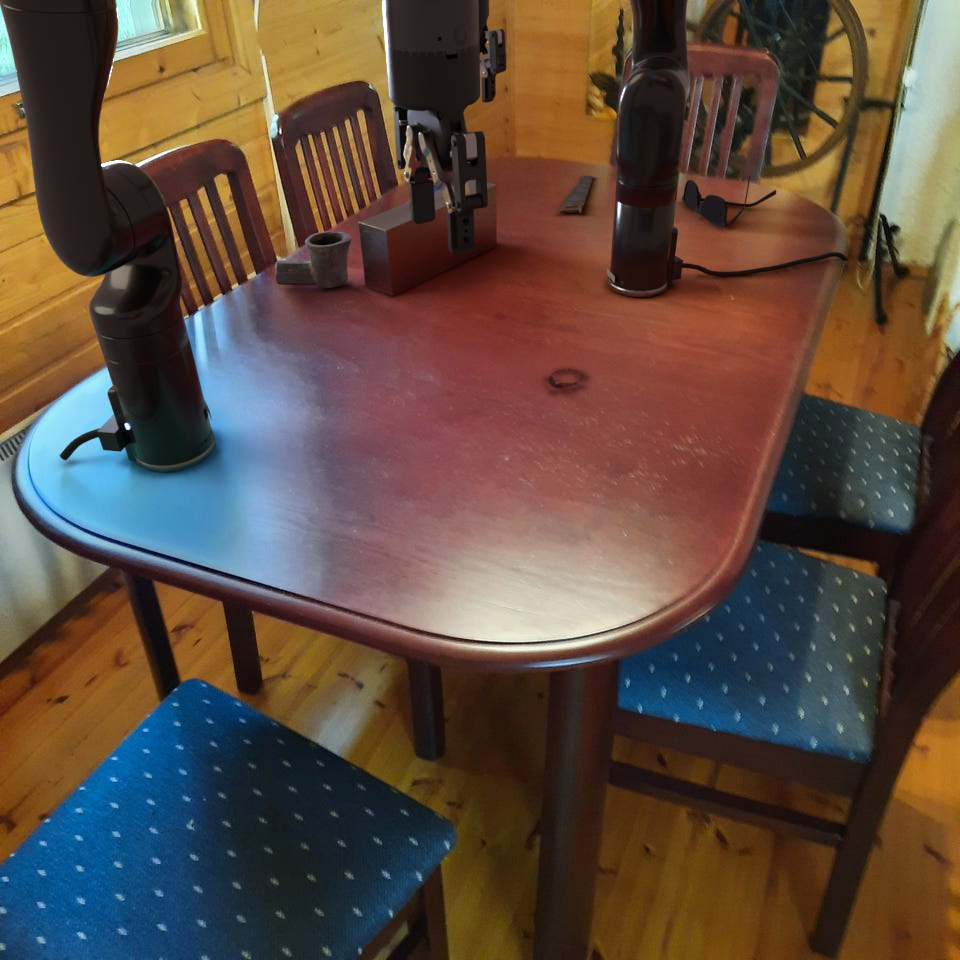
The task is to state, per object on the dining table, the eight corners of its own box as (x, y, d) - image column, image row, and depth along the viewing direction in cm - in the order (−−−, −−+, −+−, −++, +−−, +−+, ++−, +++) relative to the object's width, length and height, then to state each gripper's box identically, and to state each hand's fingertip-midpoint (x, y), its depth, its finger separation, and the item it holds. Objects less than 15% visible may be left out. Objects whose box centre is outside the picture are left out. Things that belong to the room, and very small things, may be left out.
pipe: (280, 280, 143) (272, 233, 138) (357, 276, 144) (351, 229, 139) (276, 295, 138) (268, 248, 133) (355, 291, 139) (350, 243, 134)
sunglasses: (787, 221, 160) (792, 194, 157) (718, 230, 157) (722, 203, 154) (740, 193, 173) (744, 168, 170) (675, 201, 170) (678, 176, 167)
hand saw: (572, 176, 184) (572, 173, 184) (593, 177, 184) (593, 174, 183) (557, 214, 165) (557, 210, 165) (581, 215, 165) (581, 211, 164)
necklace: (540, 387, 113) (540, 381, 112) (560, 367, 117) (560, 360, 117) (569, 395, 111) (569, 388, 111) (588, 373, 116) (588, 367, 115)
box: (470, 238, 157) (469, 178, 151) (497, 245, 154) (496, 184, 147) (365, 286, 141) (358, 221, 134) (392, 296, 137) (386, 230, 131)
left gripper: (357, 30, 72) (375, 219, 81) (423, 58, 61) (435, 272, 71) (439, 21, 74) (447, 206, 84) (515, 47, 64) (515, 255, 74)
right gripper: (516, -17, 127) (516, 99, 137) (445, -23, 135) (449, 88, 145) (484, -11, 123) (486, 109, 132) (412, -17, 130) (419, 97, 140)
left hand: (442, 236), depth 78 cm, fingers open, 8 cm apart
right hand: (467, 98), depth 138 cm, fingers open, 8 cm apart
